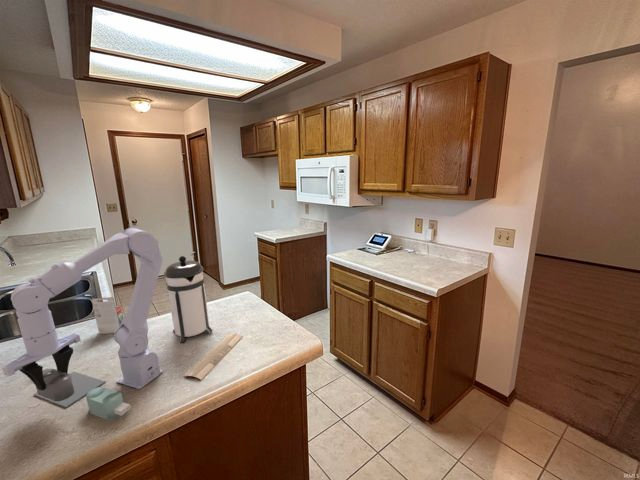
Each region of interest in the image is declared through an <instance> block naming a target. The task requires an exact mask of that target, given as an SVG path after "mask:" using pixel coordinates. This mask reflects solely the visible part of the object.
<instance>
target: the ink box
mask: <svg viewBox="0 0 640 480" xmlns="http://www.w3.org/2000/svg"><path fill="white" fill-rule="evenodd" d="M102 300H103V301H102ZM91 302H92V306H93V313H94V318H95V321H96V326H97V330H98V334H99V335H105V334H107V335H108V334H115V331H116V330H117V329H118V328H119V326H120V325H121V322H122V320H123V319H124V316H123V311H122V306H121V305H115V299H114V297H113V296H112V297H97V298H91Z"/></svg>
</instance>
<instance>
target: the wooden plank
mask: <svg viewBox="0 0 640 480" xmlns="http://www.w3.org/2000/svg"><path fill="white" fill-rule="evenodd" d="M243 337H244V336H243V335H241V334H239V333H227V335H225V336H224V338H222V339H221V340H220V341H219V342H218V343H217V344H215V346H214V347H212V349H210V350H209V351H208V352H207V353H206V354H205V355H204V356H203V357H202V358H201V359H200V360H199V361H198V362H196V364H195V365H194V366H193V367H191V369H189V370H188V371H187V372H186V373H185V374H184V375H183V378H186V377H195V378H197V379H199V380H200V381H202V380H204V378H205V377H206V376H207V375H208V374H209V373H210V372H211V371H212V370H213V369H214V368H215V367H216V366H217V365H218V363H220V362H221V360H222V359H223V358H224V357H225V356H226V355H227V354H228V353H229V352H230V351H231V350H232V349H233V348H234V347H235V345H236V344H237V343H239V342H240V341H241V339H242V338H243Z"/></svg>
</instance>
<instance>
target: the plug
mask: <svg viewBox="0 0 640 480" xmlns="http://www.w3.org/2000/svg"><path fill="white" fill-rule="evenodd" d="M43 379H44V382H45V385H46V389H45V390H43V391H42V390H39V389H37V387H36V386H35V388H36V393H38V395H40V396H43V397H46V398H48V399H51V400H53V401H62V400H65V399H67V398H69V397H70V396H72V395H73V394H74V387H73V383H72V379H71V375H70V373H68V374H67V373H64V372H61V371H58V370H57V368H56V369H55V368H47V369H43ZM29 381H30V383H31V384H32V385H35V384H34V383H33V381H32V380H31V379H30V378H29Z"/></svg>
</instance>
